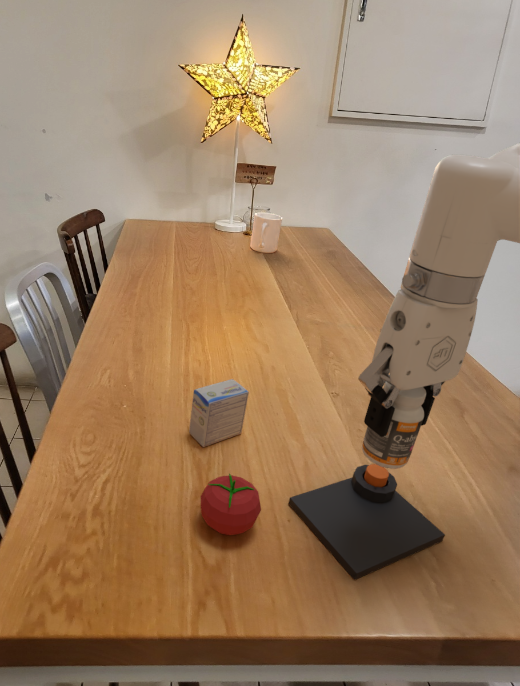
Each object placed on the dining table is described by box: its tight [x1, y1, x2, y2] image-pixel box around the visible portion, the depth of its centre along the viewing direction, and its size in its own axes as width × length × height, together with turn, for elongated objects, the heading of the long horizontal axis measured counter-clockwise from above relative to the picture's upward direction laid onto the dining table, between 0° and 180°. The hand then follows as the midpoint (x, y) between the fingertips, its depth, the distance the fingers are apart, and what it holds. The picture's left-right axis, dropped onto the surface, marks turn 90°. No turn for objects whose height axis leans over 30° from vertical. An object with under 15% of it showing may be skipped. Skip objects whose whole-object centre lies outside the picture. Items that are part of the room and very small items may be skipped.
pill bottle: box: [361, 381, 426, 470], centre depth 64 cm, size 6×6×10 cm
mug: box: [249, 211, 283, 254], centre depth 184 cm, size 10×12×12 cm
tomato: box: [200, 473, 262, 536], centre depth 70 cm, size 8×8×8 cm
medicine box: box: [188, 378, 250, 448], centre depth 87 cm, size 8×4×9 cm, turn 126°
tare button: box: [364, 463, 390, 487], centre depth 78 cm, size 3×3×2 cm
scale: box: [288, 464, 446, 581], centre depth 74 cm, size 16×14×3 cm
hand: (394, 423), depth 64 cm, fingers closed on pill bottle, 5 cm apart
